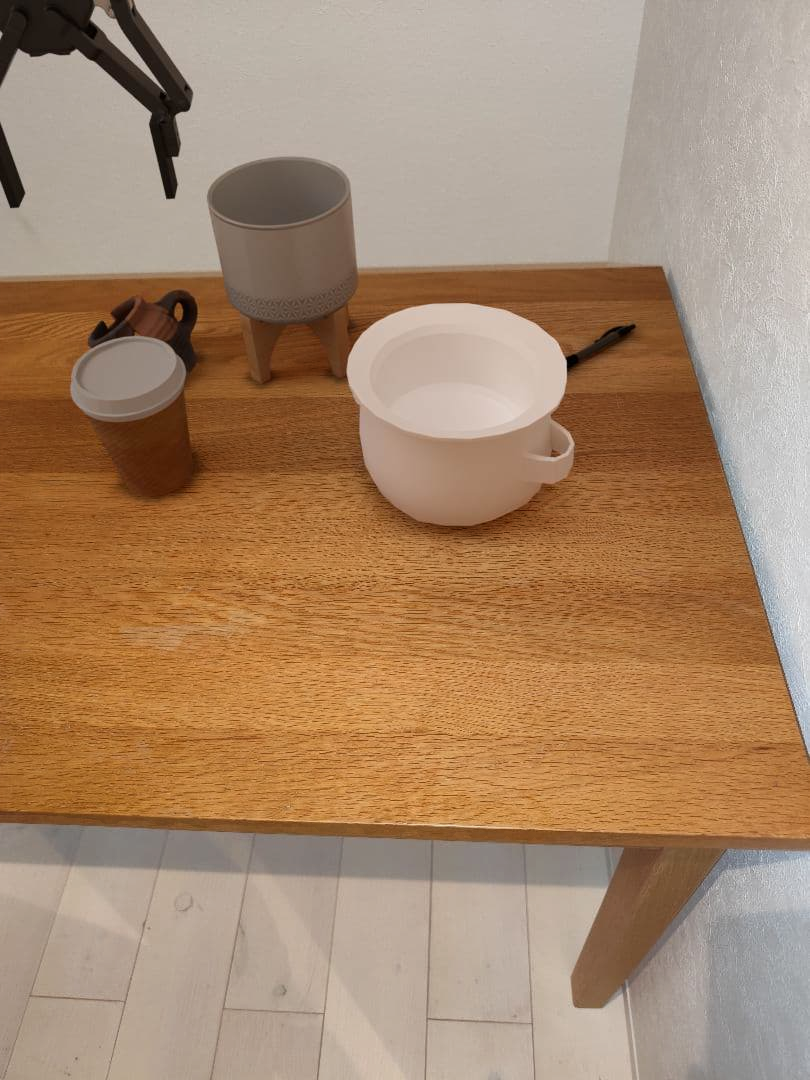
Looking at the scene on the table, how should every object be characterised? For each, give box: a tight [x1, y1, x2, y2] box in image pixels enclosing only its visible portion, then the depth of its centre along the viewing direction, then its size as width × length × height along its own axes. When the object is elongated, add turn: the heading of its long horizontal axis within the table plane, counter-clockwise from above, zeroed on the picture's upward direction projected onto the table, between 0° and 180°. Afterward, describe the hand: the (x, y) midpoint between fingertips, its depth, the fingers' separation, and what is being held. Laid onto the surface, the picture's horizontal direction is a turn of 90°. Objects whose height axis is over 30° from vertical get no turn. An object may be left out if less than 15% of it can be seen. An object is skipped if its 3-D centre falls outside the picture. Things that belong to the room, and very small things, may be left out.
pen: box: [565, 323, 637, 370], centre depth 91 cm, size 14×2×1 cm, turn 128°
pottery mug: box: [87, 289, 199, 380], centre depth 92 cm, size 12×10×8 cm
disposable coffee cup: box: [69, 335, 194, 497], centre depth 78 cm, size 10×10×12 cm
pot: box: [346, 302, 575, 527], centre depth 76 cm, size 22×17×12 cm
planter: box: [206, 156, 359, 385], centre depth 87 cm, size 13×13×18 cm
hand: (95, 196), depth 79 cm, fingers open, 13 cm apart
